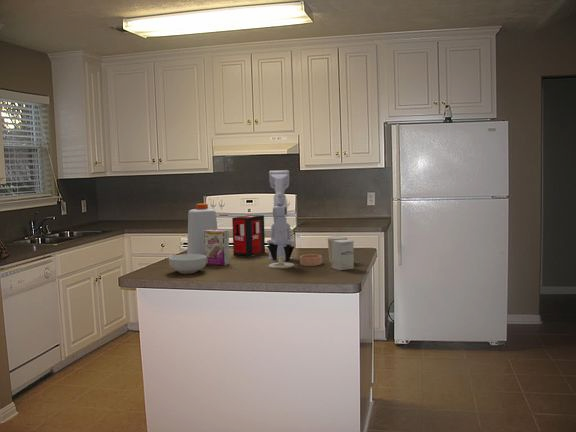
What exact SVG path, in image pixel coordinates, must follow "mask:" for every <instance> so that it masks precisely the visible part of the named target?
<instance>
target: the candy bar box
mask: <svg viewBox="0 0 576 432" xmlns="http://www.w3.org/2000/svg"><path fill="white" fill-rule="evenodd" d="M229 237H230V236H229V230H225V229H223V230H221V229H218V230H205V231H204V243H205V256H206V257H207V260H206V265H211V266H227V265H230V243H229V242H230V240H229V239H230V238H229Z"/></svg>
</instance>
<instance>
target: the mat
mask: <svg viewBox="0 0 576 432" xmlns="http://www.w3.org/2000/svg"><path fill="white" fill-rule="evenodd" d="M293 264H294V266H293V267H297V266H299V264H297V263H296V264H295V263H293ZM263 267H264V268H270V269H272V268H271V267H269V264H268V265H265V266H263ZM293 267H292V268H293ZM289 268H290V269H291V267H289ZM289 268H276V269H279V270H287V269H289Z"/></svg>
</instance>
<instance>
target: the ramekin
mask: <svg viewBox="0 0 576 432" xmlns="http://www.w3.org/2000/svg"><path fill="white" fill-rule="evenodd" d="M321 265H322V255H321V254H315V253H314V254H311V253H310V254H302V255H300V256H299V266H304V267H313V266H321Z"/></svg>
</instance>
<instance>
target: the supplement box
mask: <svg viewBox="0 0 576 432" xmlns="http://www.w3.org/2000/svg"><path fill="white" fill-rule="evenodd" d="M354 256H355V255H354V240H350V239H347V240H334V241H332V263H331V268H332V269H334V270H338V271H343V270H344V271H345V270H354V267H355V264H354V263H355V262H354V258H355V257H354Z"/></svg>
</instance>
